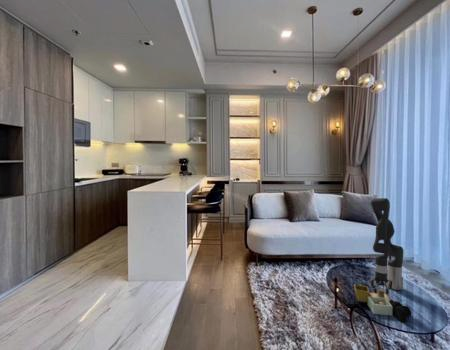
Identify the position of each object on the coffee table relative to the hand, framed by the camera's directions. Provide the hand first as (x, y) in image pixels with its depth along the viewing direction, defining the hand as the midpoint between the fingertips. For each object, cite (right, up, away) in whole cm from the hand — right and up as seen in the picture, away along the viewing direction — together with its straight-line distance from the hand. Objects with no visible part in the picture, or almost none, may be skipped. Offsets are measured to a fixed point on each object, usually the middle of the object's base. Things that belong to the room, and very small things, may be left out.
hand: (380, 293), depth 179 cm
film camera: (+1, -5, -19) cm, 20 cm away
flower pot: (-14, -5, 0) cm, 15 cm away
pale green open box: (-9, -5, -12) cm, 16 cm away
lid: (0, -4, 0) cm, 4 cm away
